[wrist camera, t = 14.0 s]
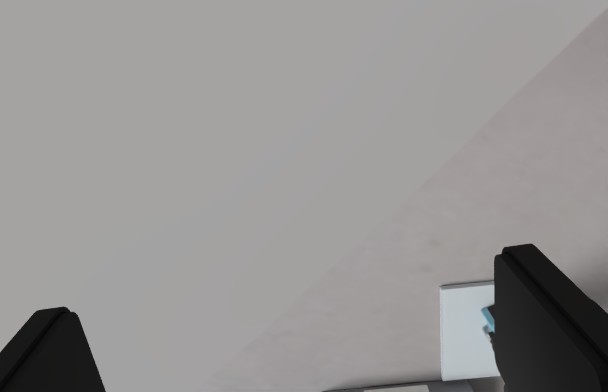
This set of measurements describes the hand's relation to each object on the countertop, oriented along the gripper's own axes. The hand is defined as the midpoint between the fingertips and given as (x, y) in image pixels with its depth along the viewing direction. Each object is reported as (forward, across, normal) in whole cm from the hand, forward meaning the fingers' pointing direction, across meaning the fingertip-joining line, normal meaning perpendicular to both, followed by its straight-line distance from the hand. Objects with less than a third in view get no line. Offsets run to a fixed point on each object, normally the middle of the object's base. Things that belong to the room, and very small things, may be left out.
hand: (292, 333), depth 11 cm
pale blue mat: (+28, -15, +23) cm, 39 cm away
